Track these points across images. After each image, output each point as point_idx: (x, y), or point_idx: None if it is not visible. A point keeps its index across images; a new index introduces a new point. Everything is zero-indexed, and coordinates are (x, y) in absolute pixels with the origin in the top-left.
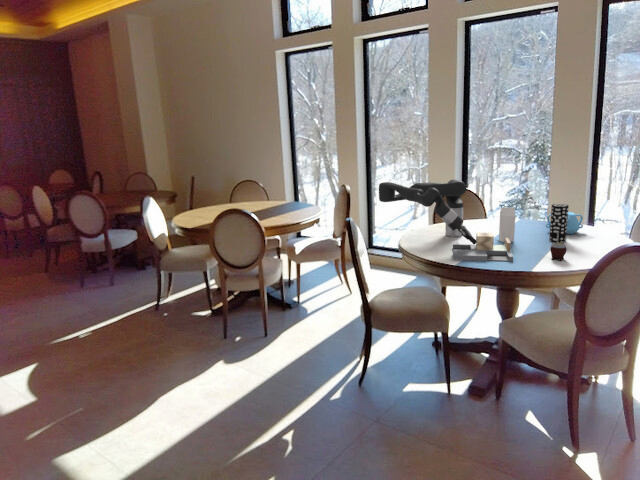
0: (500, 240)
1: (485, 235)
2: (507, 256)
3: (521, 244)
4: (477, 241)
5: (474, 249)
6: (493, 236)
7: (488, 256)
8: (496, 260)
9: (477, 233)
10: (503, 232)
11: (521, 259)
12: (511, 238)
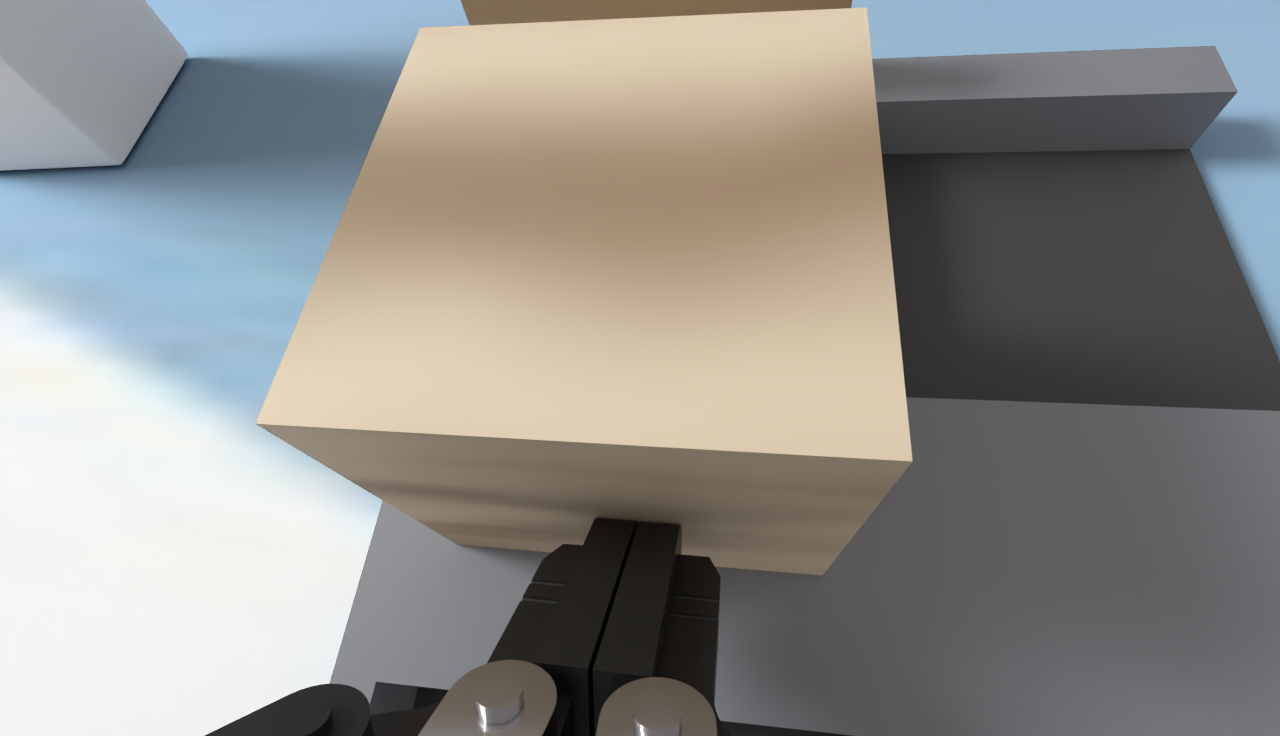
0: (96, 159)
1: (732, 180)
2: (1029, 134)
3: (320, 8)
4: (859, 513)
5: (830, 638)
6: (855, 12)
7: (1014, 395)
8: (1251, 300)
9: (391, 400)
10: (10, 25)
11: (1005, 35)
12: (145, 36)
